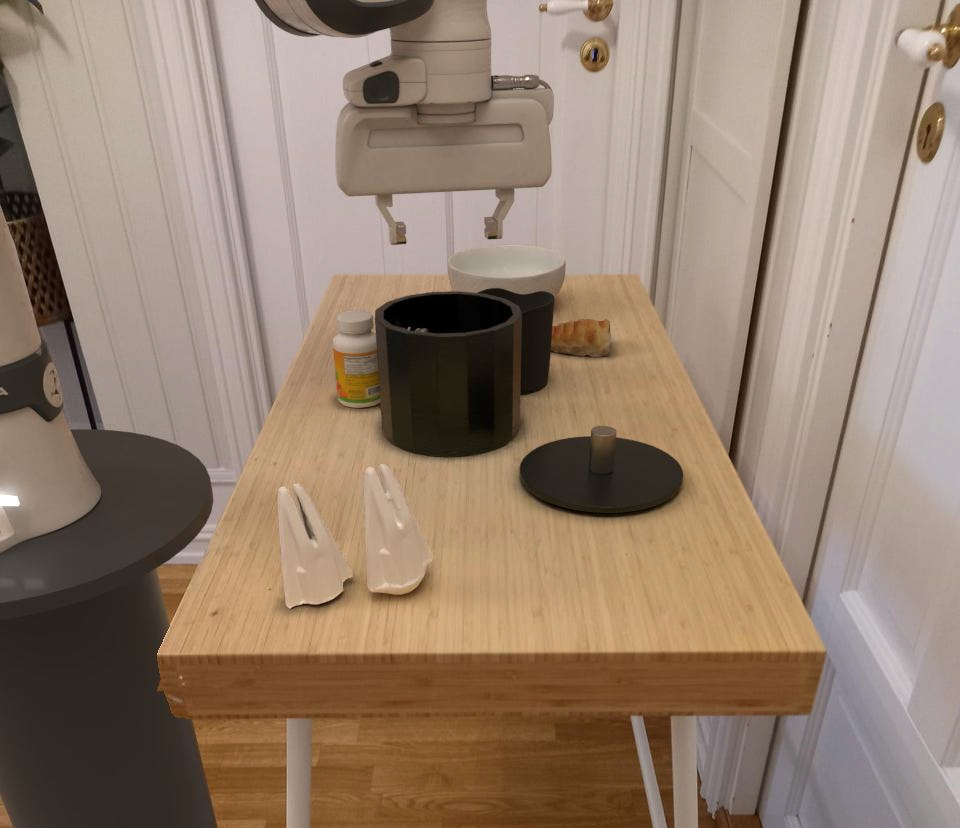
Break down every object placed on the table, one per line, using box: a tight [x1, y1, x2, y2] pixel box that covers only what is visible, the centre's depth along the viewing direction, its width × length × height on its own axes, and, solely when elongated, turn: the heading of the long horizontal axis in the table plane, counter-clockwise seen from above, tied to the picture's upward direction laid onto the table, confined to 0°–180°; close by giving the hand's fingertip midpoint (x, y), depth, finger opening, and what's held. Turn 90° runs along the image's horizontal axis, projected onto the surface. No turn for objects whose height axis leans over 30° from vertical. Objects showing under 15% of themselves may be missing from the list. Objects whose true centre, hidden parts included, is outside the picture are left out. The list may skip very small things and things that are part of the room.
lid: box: [519, 425, 684, 514], centre depth 93 cm, size 16×16×5 cm
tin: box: [374, 290, 522, 458], centre depth 102 cm, size 15×15×12 cm
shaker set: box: [277, 463, 434, 609], centre depth 75 cm, size 12×4×11 cm, turn 95°
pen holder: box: [477, 288, 555, 395], centre depth 113 cm, size 9×9×10 cm
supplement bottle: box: [332, 310, 381, 409], centre depth 109 cm, size 5×5×10 cm
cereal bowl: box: [447, 244, 566, 298], centre depth 138 cm, size 17×17×7 cm
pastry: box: [551, 318, 613, 358], centre depth 125 cm, size 9×7×4 cm
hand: (446, 240), depth 94 cm, fingers open, 8 cm apart
